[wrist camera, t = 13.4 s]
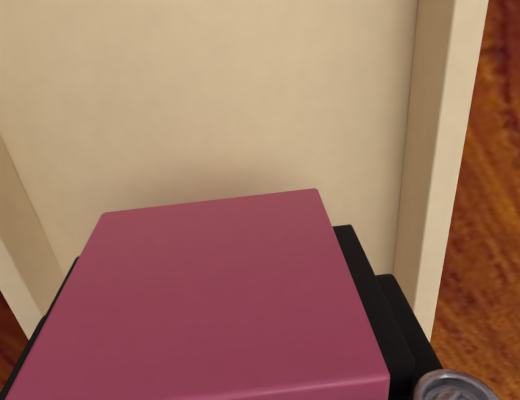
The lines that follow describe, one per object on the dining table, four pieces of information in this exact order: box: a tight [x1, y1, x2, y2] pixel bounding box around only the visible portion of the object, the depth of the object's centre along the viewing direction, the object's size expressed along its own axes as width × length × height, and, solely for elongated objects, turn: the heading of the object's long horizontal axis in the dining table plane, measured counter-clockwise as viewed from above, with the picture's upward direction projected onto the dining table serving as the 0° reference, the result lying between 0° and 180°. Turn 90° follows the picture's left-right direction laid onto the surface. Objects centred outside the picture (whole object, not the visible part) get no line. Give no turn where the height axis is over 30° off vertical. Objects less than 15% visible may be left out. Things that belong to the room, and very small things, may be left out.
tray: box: [0, 0, 488, 343], centre depth 13 cm, size 18×14×3 cm
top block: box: [5, 188, 390, 400], centre depth 8 cm, size 5×5×5 cm
